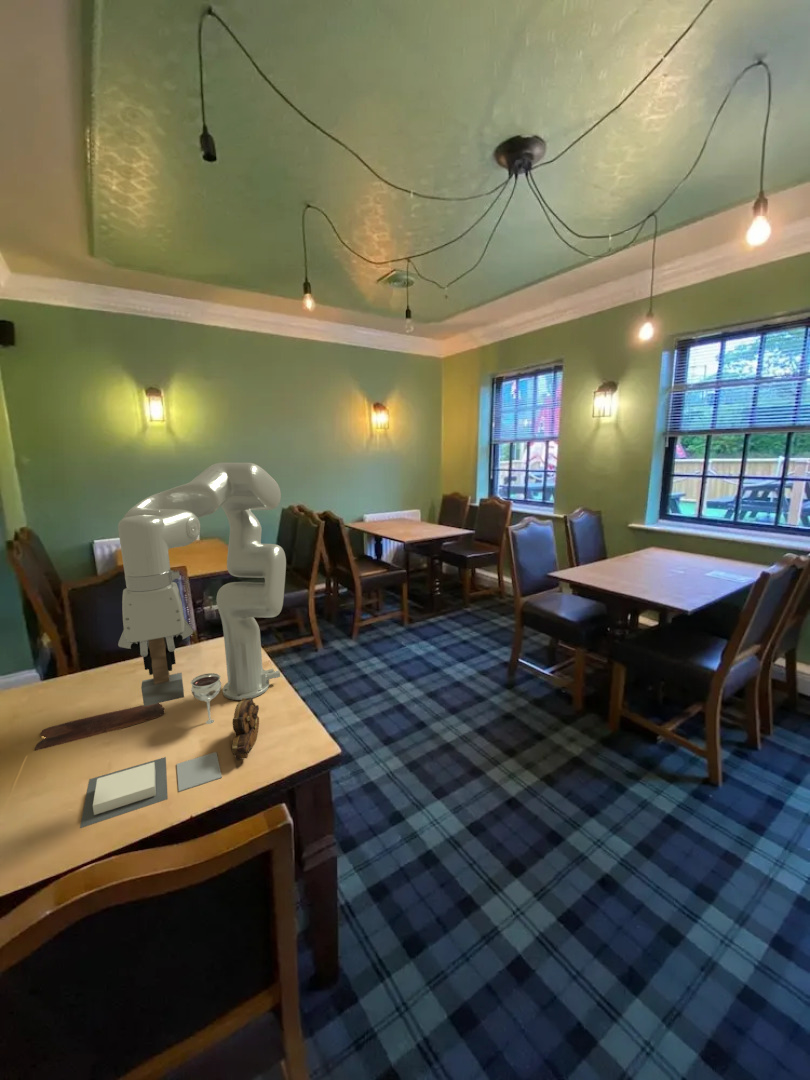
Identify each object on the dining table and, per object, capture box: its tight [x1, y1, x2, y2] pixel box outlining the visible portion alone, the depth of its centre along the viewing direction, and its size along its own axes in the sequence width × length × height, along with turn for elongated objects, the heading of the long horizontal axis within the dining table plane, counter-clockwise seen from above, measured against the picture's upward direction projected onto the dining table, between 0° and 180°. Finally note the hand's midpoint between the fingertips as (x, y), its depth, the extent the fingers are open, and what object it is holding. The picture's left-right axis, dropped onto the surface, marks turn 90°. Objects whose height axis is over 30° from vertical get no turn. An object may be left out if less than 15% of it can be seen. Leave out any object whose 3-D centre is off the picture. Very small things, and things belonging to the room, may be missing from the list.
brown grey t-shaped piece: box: [141, 637, 185, 706], centre depth 88 cm, size 7×3×15 cm, turn 117°
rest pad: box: [176, 751, 223, 793], centre depth 95 cm, size 8×9×1 cm
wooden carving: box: [231, 697, 260, 761], centre depth 103 cm, size 16×5×10 cm, turn 12°
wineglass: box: [190, 672, 222, 725], centre depth 111 cm, size 7×7×12 cm
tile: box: [93, 762, 156, 815], centre depth 88 cm, size 10×2×8 cm
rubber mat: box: [79, 756, 169, 829], centre depth 90 cm, size 14×14×1 cm
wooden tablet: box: [34, 703, 165, 752], centre depth 112 cm, size 26×2×10 cm
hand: (160, 669), depth 88 cm, fingers closed on brown grey t-shaped piece, 2 cm apart
